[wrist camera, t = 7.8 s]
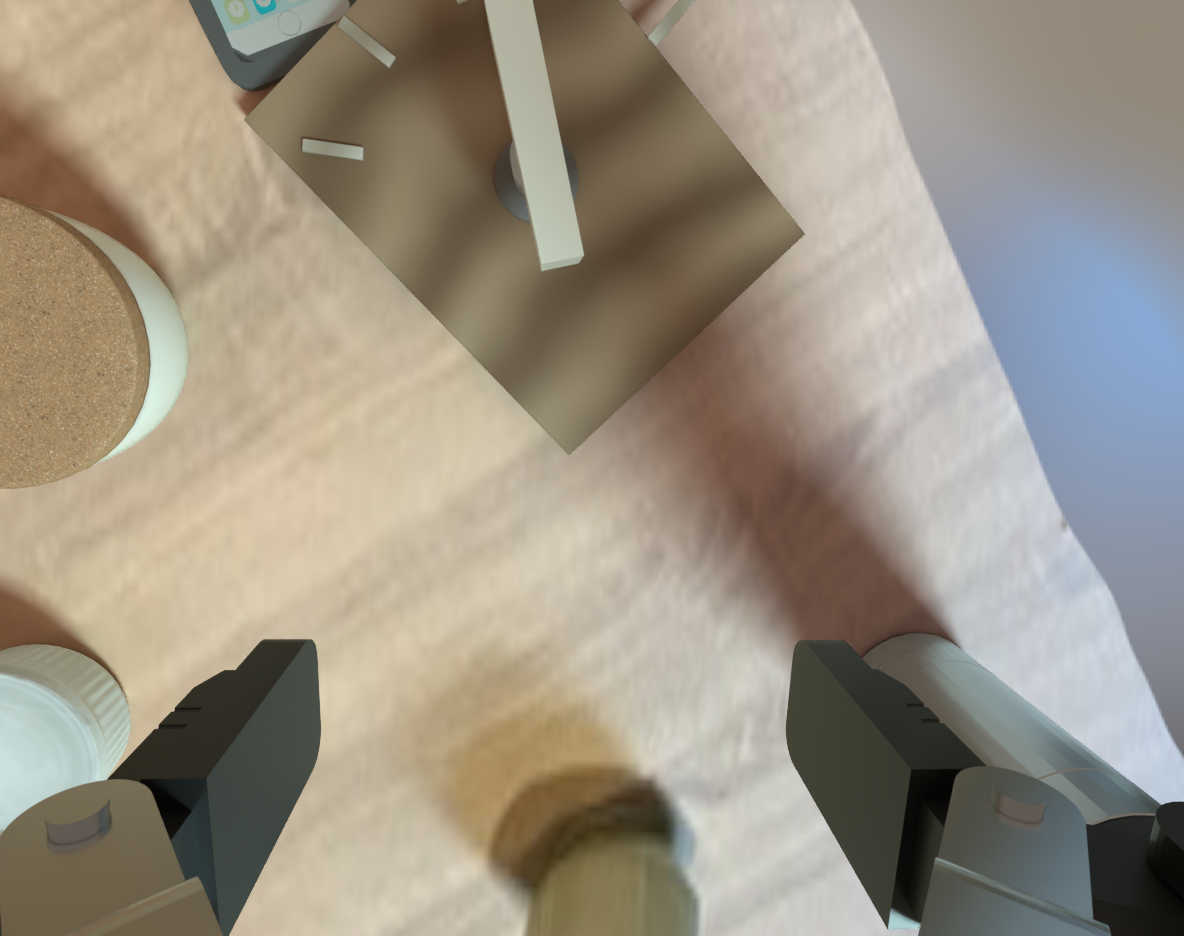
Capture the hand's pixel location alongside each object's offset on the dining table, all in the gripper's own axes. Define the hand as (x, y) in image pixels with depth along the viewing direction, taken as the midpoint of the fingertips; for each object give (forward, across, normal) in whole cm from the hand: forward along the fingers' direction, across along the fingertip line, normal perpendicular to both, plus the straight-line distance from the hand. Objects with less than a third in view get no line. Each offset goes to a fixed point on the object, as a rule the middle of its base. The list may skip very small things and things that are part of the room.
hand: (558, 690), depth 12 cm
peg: (+28, +2, -17) cm, 32 cm away
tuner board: (+30, 0, -14) cm, 33 cm away
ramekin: (+30, +30, +18) cm, 46 cm away
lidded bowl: (+30, +24, -4) cm, 39 cm away
